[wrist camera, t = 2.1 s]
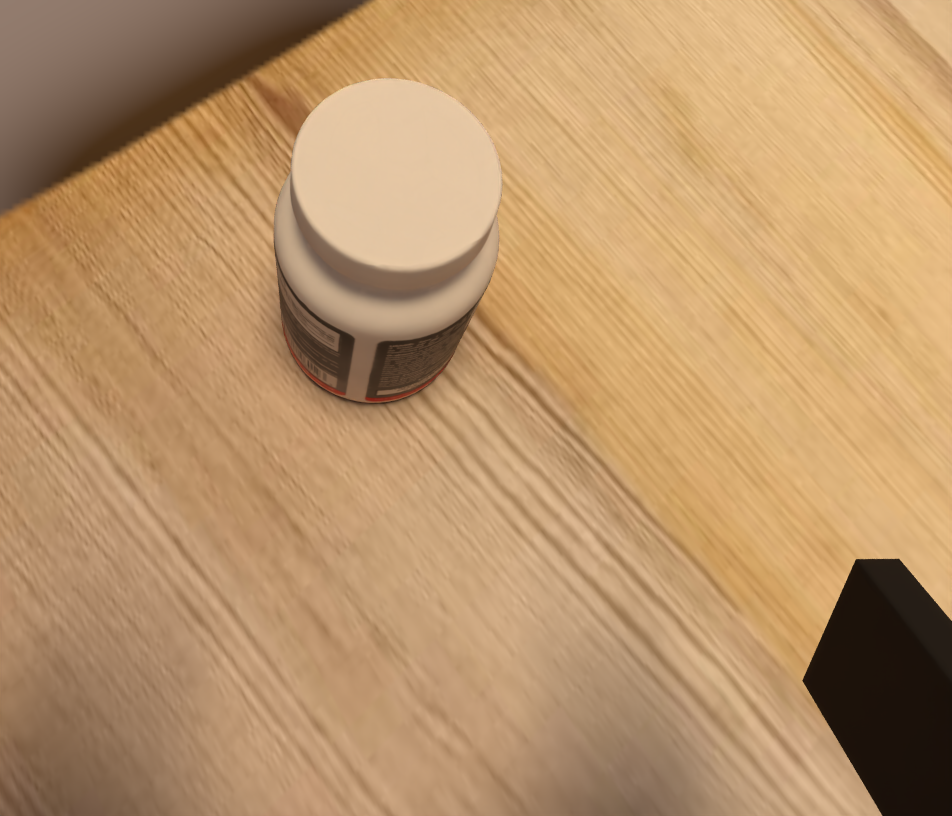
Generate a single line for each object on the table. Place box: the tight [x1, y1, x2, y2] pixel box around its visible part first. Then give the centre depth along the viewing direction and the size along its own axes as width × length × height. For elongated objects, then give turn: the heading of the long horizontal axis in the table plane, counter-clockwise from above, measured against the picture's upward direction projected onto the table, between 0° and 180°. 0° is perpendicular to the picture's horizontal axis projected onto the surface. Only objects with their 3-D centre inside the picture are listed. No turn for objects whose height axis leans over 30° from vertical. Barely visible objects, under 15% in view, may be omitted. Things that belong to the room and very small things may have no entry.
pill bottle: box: [274, 78, 502, 403], centre depth 24 cm, size 6×6×10 cm
